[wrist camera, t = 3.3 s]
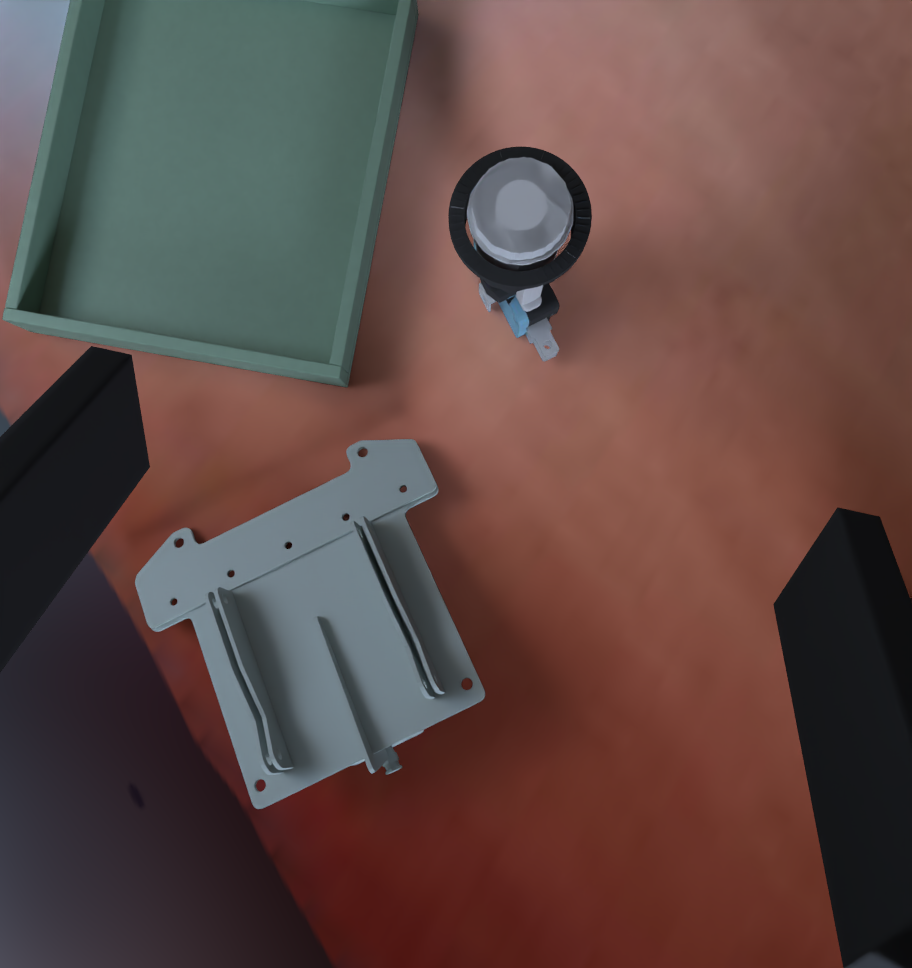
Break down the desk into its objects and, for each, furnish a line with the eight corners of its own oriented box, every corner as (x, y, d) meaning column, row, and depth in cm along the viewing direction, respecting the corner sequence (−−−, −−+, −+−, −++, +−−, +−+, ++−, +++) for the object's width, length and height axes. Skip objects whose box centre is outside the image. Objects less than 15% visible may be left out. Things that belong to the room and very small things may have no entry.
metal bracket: (536, 693, 31) (199, 858, 31) (542, 699, 36) (257, 840, 36) (396, 403, 36) (106, 546, 36) (421, 447, 41) (169, 571, 41)
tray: (347, 387, 38) (339, 378, 35) (30, 331, 38) (1, 319, 36) (418, 13, 39) (415, -19, 36) (107, -35, 39) (84, -69, 37)
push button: (597, 337, 37) (639, 268, 27) (499, 386, 37) (505, 336, 28) (534, 218, 38) (553, 108, 28) (437, 267, 38) (422, 174, 28)
